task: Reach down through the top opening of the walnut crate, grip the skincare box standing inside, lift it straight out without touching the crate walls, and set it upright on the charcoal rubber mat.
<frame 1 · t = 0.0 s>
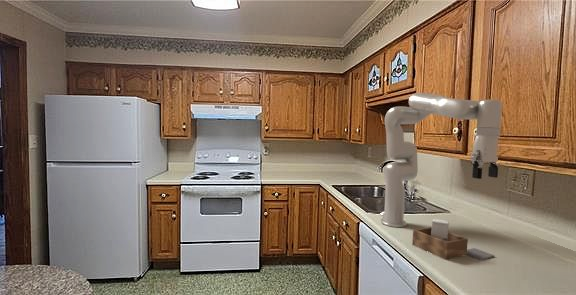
hand: (484, 177, 119), 31 cm above the worktop, tool pointing down, fingers open, 9 cm apart
crate: (438, 249, 127), on the worktop
mat: (477, 254, 124), on the worktop
skincare box: (438, 250, 128), resting in crate
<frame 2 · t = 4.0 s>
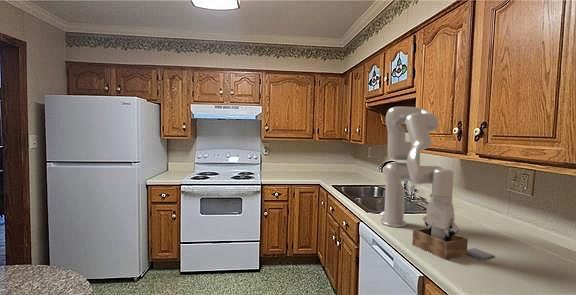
hand: (439, 241, 127), 3 cm above the worktop, tool pointing down, fingers closed on skincare box, 7 cm apart
skincare box: (438, 250, 127), resting in crate, touching gripper
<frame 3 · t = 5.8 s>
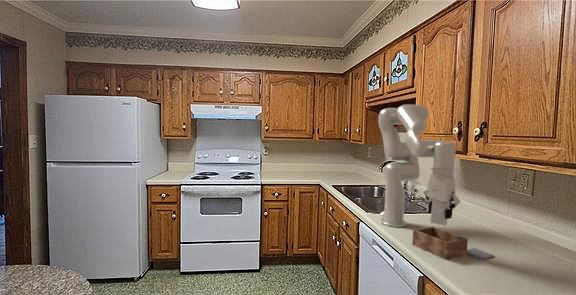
hand: (439, 215, 127), 14 cm above the worktop, tool pointing down, fingers closed on skincare box, 7 cm apart
skincare box: (438, 223, 127), point 11 cm above the worktop, touching gripper
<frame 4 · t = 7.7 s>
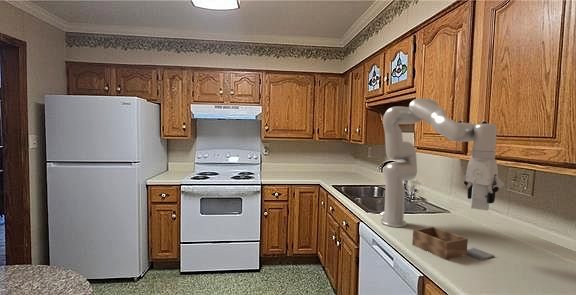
hand: (480, 200, 122), 22 cm above the worktop, tool pointing down, fingers closed on skincare box, 7 cm apart
skincare box: (479, 209, 122), point 18 cm above the worktop, touching gripper
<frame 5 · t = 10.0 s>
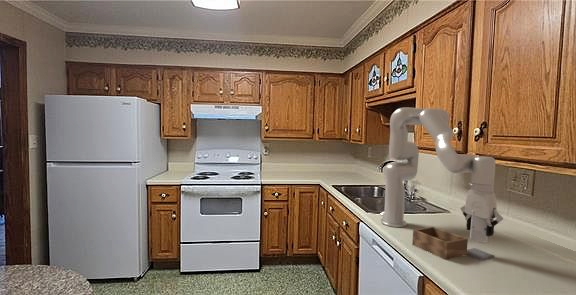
hand: (479, 232, 123), 9 cm above the worktop, tool pointing down, fingers closed on skincare box, 7 cm apart
skincare box: (478, 241, 123), point 6 cm above the worktop, touching gripper
when the fingers open (5 cm above the worktop, at t = 11.9 s): skincare box stays where it is, resting on mat.
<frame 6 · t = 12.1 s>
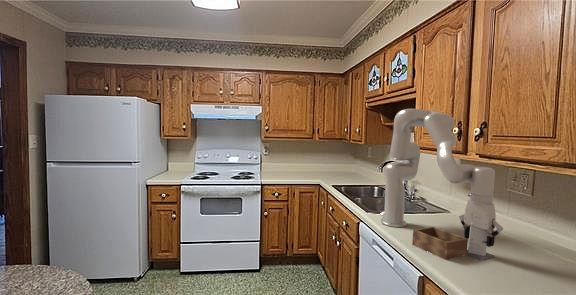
hand: (478, 241, 123), 5 cm above the worktop, tool pointing down, fingers open, 8 cm apart
skincare box: (477, 253, 124), resting on mat
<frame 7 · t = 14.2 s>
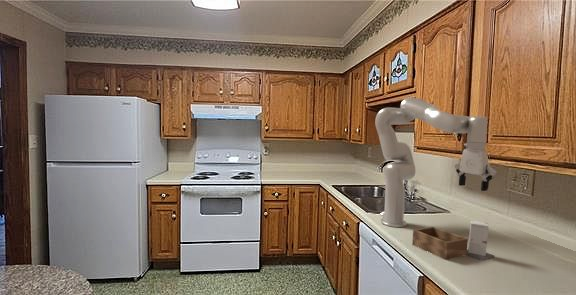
hand: (472, 187, 129), 25 cm above the worktop, tool pointing down, fingers open, 9 cm apart
nothing on the worktop moved.
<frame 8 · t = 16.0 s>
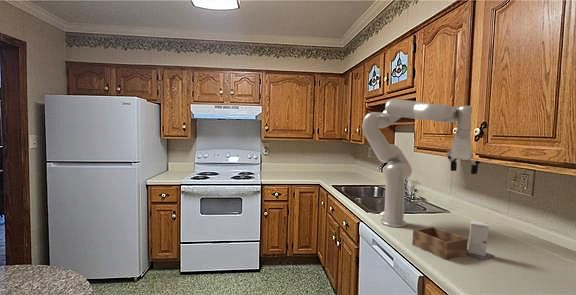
hand: (463, 172, 139), 30 cm above the worktop, tool pointing down, fingers open, 9 cm apart
nothing on the worktop moved.
at the end: skincare box 0.2 cm off-centre on the mat, point 0.4 cm above the mat's base; skincare box tilted 0°; the gripper is holding nothing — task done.
